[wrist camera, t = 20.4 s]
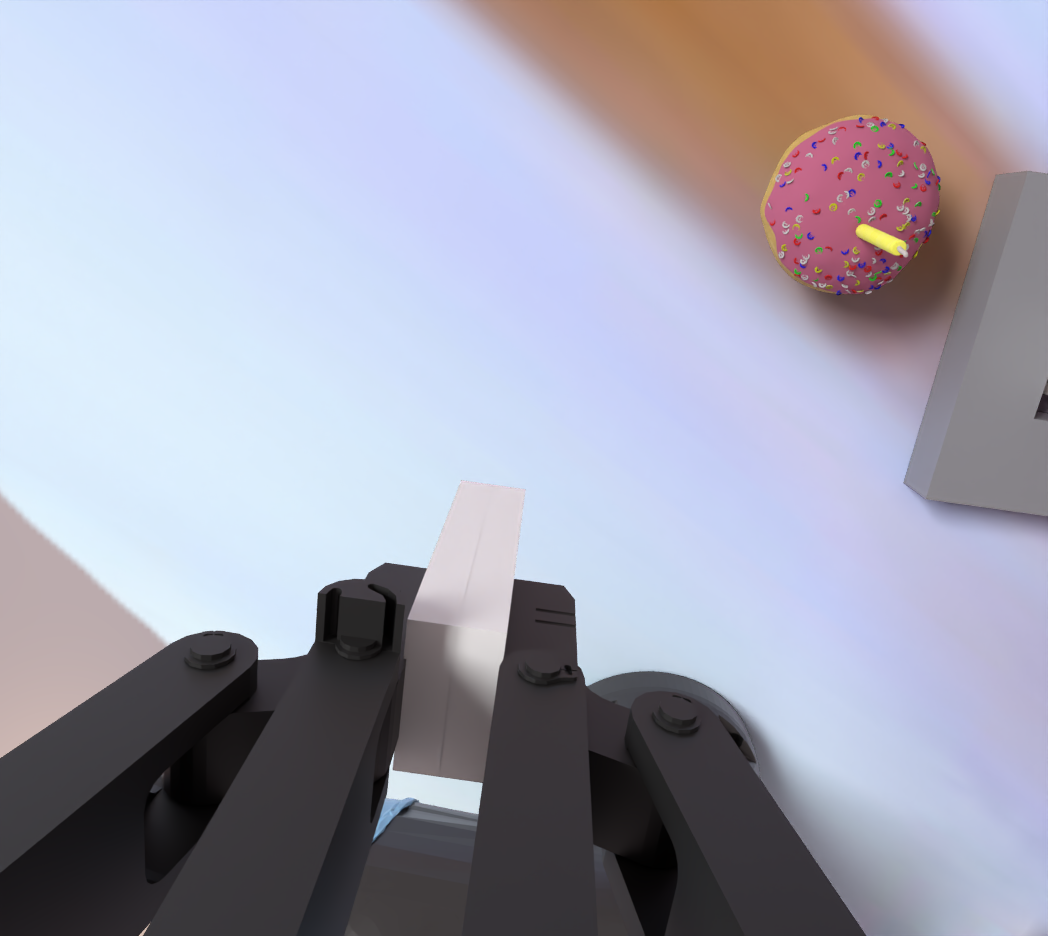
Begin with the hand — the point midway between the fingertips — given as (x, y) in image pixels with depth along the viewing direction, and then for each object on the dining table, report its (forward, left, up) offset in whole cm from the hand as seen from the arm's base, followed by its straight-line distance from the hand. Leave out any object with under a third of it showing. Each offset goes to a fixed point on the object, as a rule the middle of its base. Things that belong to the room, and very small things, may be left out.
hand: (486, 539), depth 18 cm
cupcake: (+10, -15, -30) cm, 35 cm away
